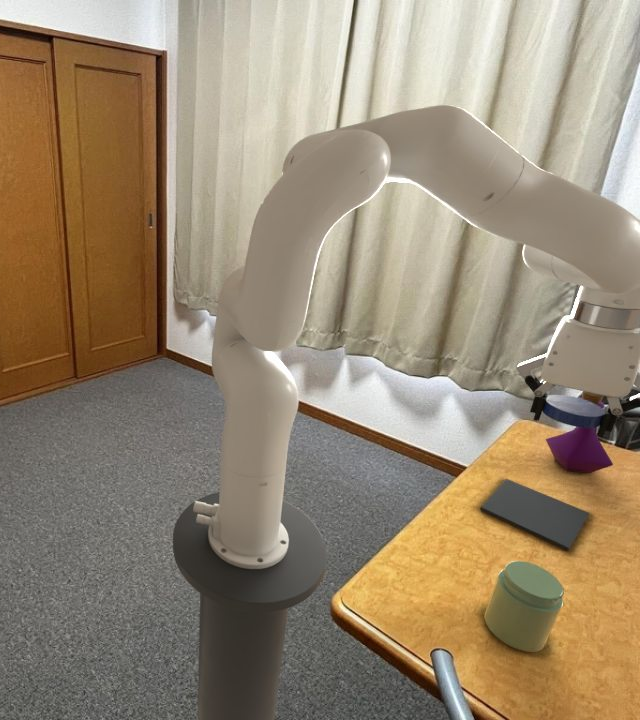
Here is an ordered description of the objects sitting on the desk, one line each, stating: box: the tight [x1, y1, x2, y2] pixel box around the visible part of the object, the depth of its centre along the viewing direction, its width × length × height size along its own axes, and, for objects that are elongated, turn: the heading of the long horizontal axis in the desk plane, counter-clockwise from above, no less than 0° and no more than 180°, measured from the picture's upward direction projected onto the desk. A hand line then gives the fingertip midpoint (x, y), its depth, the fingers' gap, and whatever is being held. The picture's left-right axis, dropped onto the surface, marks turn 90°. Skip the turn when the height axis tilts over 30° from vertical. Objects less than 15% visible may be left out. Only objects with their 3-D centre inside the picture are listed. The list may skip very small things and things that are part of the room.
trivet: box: [480, 478, 590, 551], centre depth 80 cm, size 12×12×1 cm
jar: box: [483, 560, 565, 653], centre depth 59 cm, size 6×6×9 cm
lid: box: [542, 394, 604, 428], centre depth 72 cm, size 7×7×2 cm
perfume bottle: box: [545, 391, 614, 474], centre depth 88 cm, size 8×8×18 cm
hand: (567, 424), depth 73 cm, fingers closed on lid, 7 cm apart
